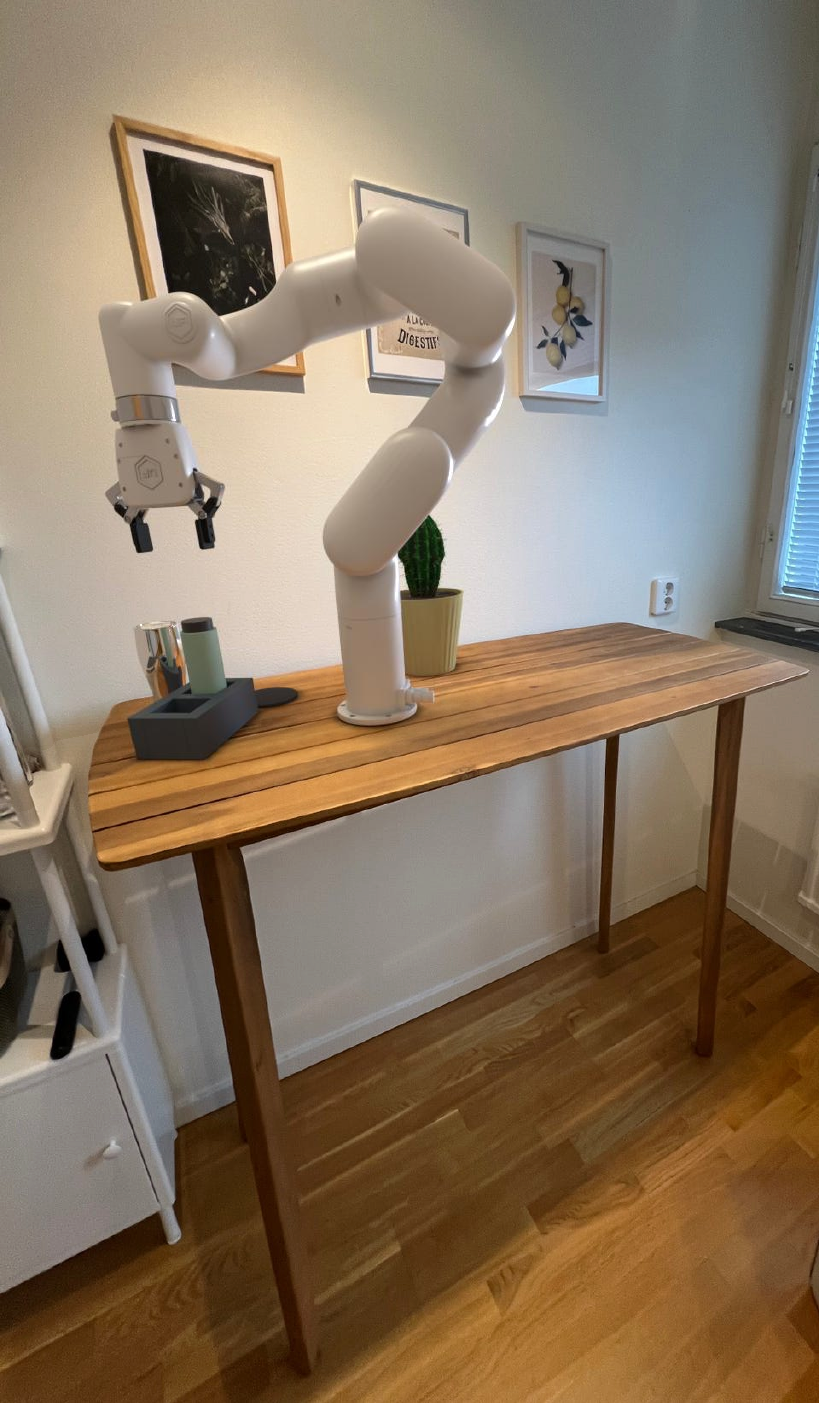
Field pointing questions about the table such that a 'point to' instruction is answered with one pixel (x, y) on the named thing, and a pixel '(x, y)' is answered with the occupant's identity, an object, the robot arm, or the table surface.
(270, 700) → the coaster
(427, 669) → the potted cactus
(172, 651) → the chrome tumbler
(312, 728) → the table surface
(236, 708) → the holder
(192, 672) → the bottle
